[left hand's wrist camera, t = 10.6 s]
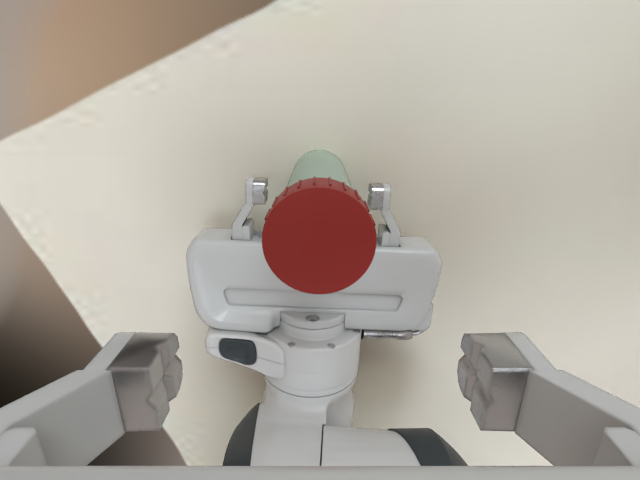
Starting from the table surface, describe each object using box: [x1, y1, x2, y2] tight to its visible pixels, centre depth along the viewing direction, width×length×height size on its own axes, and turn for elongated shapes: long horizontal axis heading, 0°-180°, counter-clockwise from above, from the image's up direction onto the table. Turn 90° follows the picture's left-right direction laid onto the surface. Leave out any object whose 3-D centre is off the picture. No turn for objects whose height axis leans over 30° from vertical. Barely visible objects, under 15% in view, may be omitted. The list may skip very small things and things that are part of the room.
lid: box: [262, 176, 377, 294], centre depth 20 cm, size 6×6×2 cm
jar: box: [288, 150, 352, 188], centre depth 27 cm, size 5×5×17 cm
